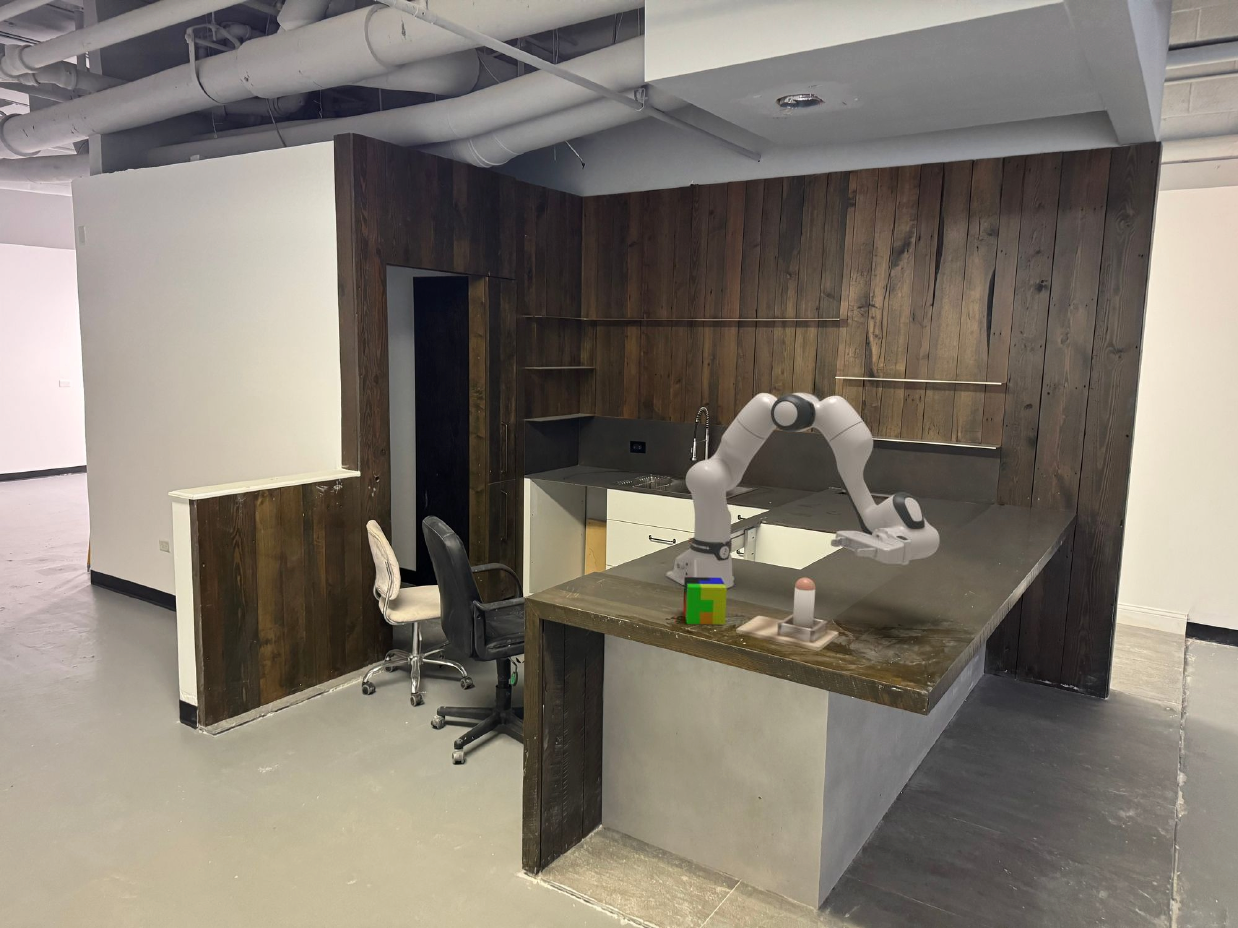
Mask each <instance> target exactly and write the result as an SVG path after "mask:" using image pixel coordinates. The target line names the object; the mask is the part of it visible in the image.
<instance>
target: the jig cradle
mask: <svg viewBox="0 0 1238 928" xmlns="http://www.w3.org/2000/svg"><path fill="white" fill-rule="evenodd" d="M735 632H736V634H739V635H744V636H749V637H753V638H758V639H762V640H767V641H771V642H775V643H780V644H786V645H789V646H793V647H797V648H802V649H806V650H812V651H816V652H820V651H821V650H822V649H824V648H825V647H826V646H827V645H829V644H830V643H831V642H832V641H833V640H835V639H836V638H838V637H839V631H835V630H831V629H828V621H827V620H824V619H818V618H814V617H813V629H808V628H804V627H799V626H794V625H793V613H792V614H790V615H789V616H787V617H785V618H784V619H783V620H781V619H779V618H778V619H776V618H772V617H768V616H761V615H757V616H755V617H753V618H752V619H751V620H748V621H747V622H746V623H744V624H742V625H740V626H739V627H738V628H736V629H735Z"/></svg>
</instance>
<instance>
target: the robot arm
mask: <svg viewBox="0 0 1238 928" xmlns="http://www.w3.org/2000/svg"><path fill="white" fill-rule="evenodd" d="M814 428H815V429H817V430H818V431H820V432H821V434H822V436H823V437H824V438H825V439H826V441H827V443H828V444H829V446H830V447H831V449H832V451H833V454H834V457H835V461H836V462H835V463H836V473H837V475H838V478H839V480H840V482H841V485H842V486H843V489H844V491H845V493H846V495H847V497H848V499H849V501H850V503H851V505H852V507H853V509H854V512H855V514H856V517H857V519H858V524H859V526H860V529H861V531H858V530H838V531H836V533H835V538H832V539H831V540H830V546H832V547H834V548H840V547H842V548H845V549H847V550H850V551H852V552H854V555H855V556H857V557H866V558H871V559H874V560H876V561H878V562H881V563H883V564H889V565H890V564H891V565H894V564H895V565H896V564H897V565H901V566H907V565H909V562H910V561H911V560H912V561H913V560H920V559H923V558H924V559H925V558H928V557H930V556H932V555H934V554H935V552H936V551H937V550H938V549H939V546H940V534H939V531H938V530H937V529H936V528H935V527H934V526H932V525H931V524H929V522H928V521H927V519H926V518H925V516H924V513H923V508H922V506H921V504H920V502H919V501H918V499H917V498H916V497H915V496H913V495H912V494H910V493H909V492H904V491H898V492H896V493H894V494H893V495H890V496H889V497H888V498H886V499H885V500H883V501H882V502H881V503H879V504H878V505H877V504H876V503H875V501H874V499H873V497H872V495H871V492H870V490H869V488H868V486H867V484H866V482H865V480H864V470H865V466H866V464H867V461H869V458H870V456H871V455H872V451H873V449H874V437H873V435H872V432H871V431H870V428H868V426H867V425H866V423H865V422H864V421H863V419H862V417H861V416H860V415H859V414H858V412H857V410H855V408H854V407H853V406H852V405H851V404H850V403H849V402H848V401H847V400H846V399H845V398H843V397H842V396H839V395H832V396H827V397H825V398H824V399H821V398H820V397H819V396H817V395H816V394H813V393H811V392H810V393H809V392H793V393H788V394H787V393H786V394H784V395H781V396H779V397H778V398H777V397H776V396H775V395H773V394H771V393H766V392H761V393H758V394H756V395H755V396H754V397H752V399H751V400H750V401H749V402H748V403H747V404H745V406H744V407H743V408H742V409H741V410H740V412H739V413H738V414H737V416H736V417H735V418H734V420H733V421H732V422H731V424H730V425H729V426H728V428H727V429H726V430H725V432H724V433H723V435H722V436H721V440H720V443H719V446H718V447H717V449H716V451H715V453H714V454H713V455H712V456H711V457H710V458H708V459H704V460H701V461H698V462H696V463H695V464H694V465H693V466H691V467H690V468H689V469H688V471H687V473H686V475H685V484H686V485H685V486H686V487H687V489H688V491H689V492H690V494H691V498H692V503H693V510H694V532H693V533H694V534H693V537H690V538H688V543H690V546H689V548H688V549H687V550H685V551H684V552H683V553H681V554H679V555H678V556H677V557H676V558H675V559H674V560H675V561H674V568H673V569H672V570H669V571H666V575H665V576H666V577H667V578H669V579H671V580H672V581H675V582H677V583H678V584H680V585H682V586H683V585H684V578H685V577H710V578H721V579H722V580H723V582H724V584H725V586H726V588H727V589H729V588H732V587H733V586H734V584H735V583H734V581H735V576H733V562H732V560H733V559H732V554H731V552H732V546H733V543H732V542H733V540H732V539H731V532H732V530H731V529H732V513H731V511H730V509H729V506H728V503H727V492H729V491H732V490H733V489H734V488H735V487H737V486H738V485H739V484H740V483H741V481H742V478H743V476H744V474H745V472H746V471H747V468H748V467H749V465H750V463H751V461H752V460H753V458H754V456H755V455H756V454H757V452H758V451H759V450H760V448H761V447H762V446H763V445H764V444H765V442H766V441H767V440H768V438H769V437H770V435H771V434H772V433H773V431H774V430H776V429H779V430H781V431H784V432H786V433H800V432H804V431H807V430H811V429H814Z"/></svg>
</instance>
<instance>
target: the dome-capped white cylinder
mask: <svg viewBox="0 0 1238 928" xmlns="http://www.w3.org/2000/svg"><path fill="white" fill-rule="evenodd" d="M815 597H816V585H815V582H814V581H813V580H812V579H810V578H808V577H801V578H800V579H798V580H796V582H795V585H794V597H793V611H792V612H793V613H792V614H793V625H794V626H799V627H804V628H808V629H813V618H814V616H815V615H814V613H815V601H816V600H815V599H816V598H815Z"/></svg>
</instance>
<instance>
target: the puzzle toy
mask: <svg viewBox="0 0 1238 928" xmlns="http://www.w3.org/2000/svg"><path fill="white" fill-rule="evenodd" d="M727 591H728V588H726V586H725V584H724V582H723V580H722V579H721V578H710V577H685V578H684V586H683V609H682V613H683V615H684V618H685V621H686V625H722V626H723V625H724V626H725V625H726V615H727V614H726V612H727V611H726V610H727Z"/></svg>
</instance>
